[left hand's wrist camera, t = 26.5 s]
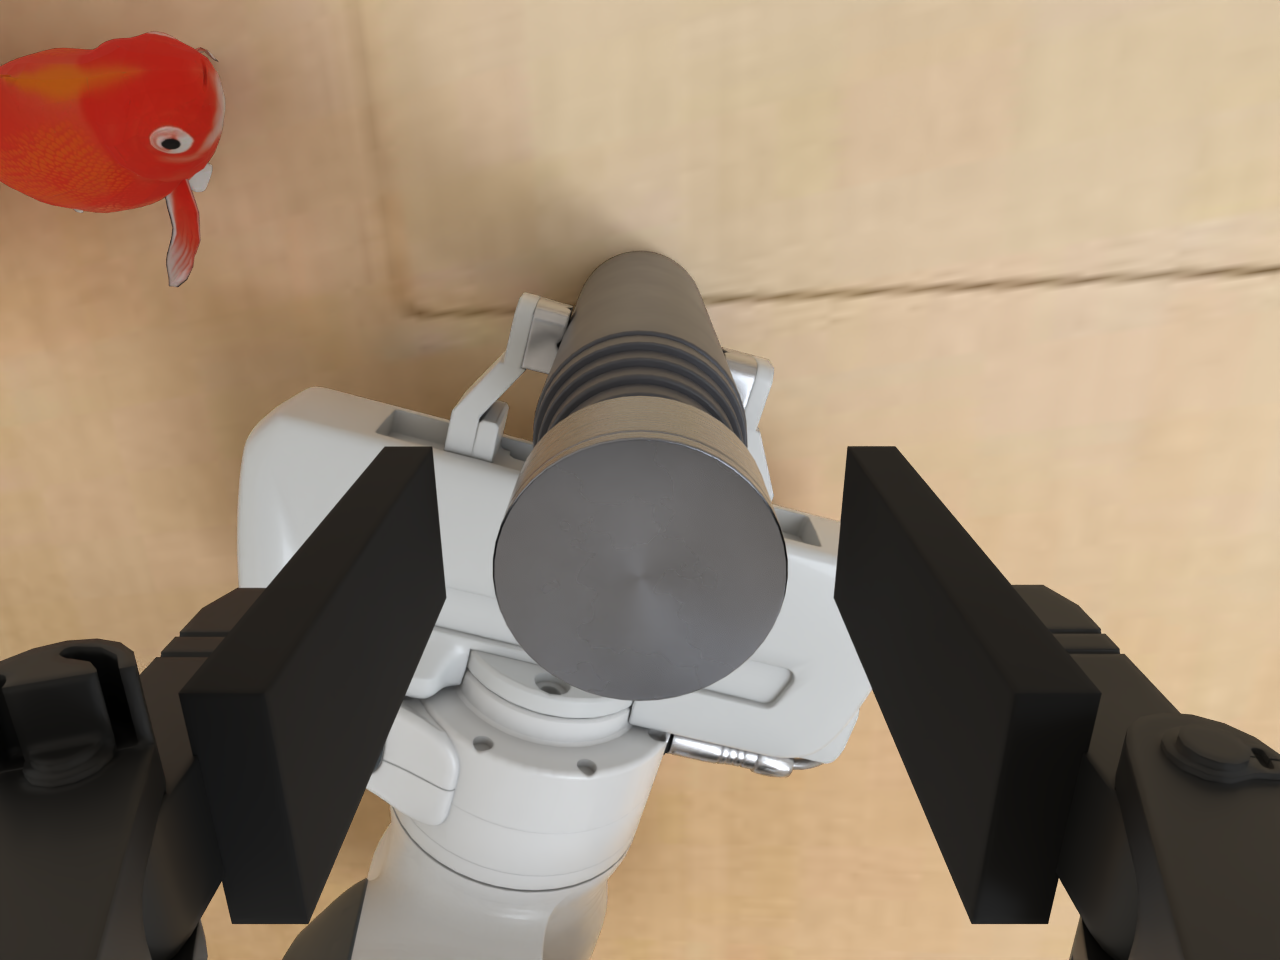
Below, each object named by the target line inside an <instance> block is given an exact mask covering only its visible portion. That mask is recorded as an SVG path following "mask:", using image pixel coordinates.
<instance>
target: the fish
mask: <svg viewBox="0 0 1280 960" xmlns="http://www.w3.org/2000/svg"><path fill="white" fill-rule="evenodd" d="M202 52H205V53H207V54H208V55H209V56H210V57H211V58H213V59H214V60H215V61H217V59H216V58H215V57H214V56H213V55H212V54H211V53H210V52H209V51H208V50H205V49H203V48H201V47H200V48H197V49H194V48H192V47H190V46H188V45H186V44H184V43H182V42H181V41H179V40H177V39H175V38H174V37H172V36H170V35H168V34H166V33H162V32H148V33H145V34H142V35H139V36H136V37H131V38H119V39H112V40H109V41H106V42H104V43H103V44H101V45H100V46H99V47H98V48H96V49H93V50H86V49H74V48H54V49H50V50H45V51H41V52H38V53H34V54H31V55H27V56H24V57H21V58H18V59H15V60H13V61H10V62H8V63H6V64H4V65H2V66H1V67H0V181H1V182H3V183H4V184H6V185H7V186H9V187H11V188H13V189H15V190H17V191H20V192H22V193H24V194H26V195H28V196H30V197H32V198H34V199H36V200H38V201H41V202H44V203H47V204H51V205H55V206H60V207H66V208H71V209H74V210H75V211H76V212H80V213H83V211H89V212H98V213H109V212H116V211H122V210H128V209H134V208H138V207H143V206H146V205H150V204H153V203H155V202H157V201H159V200H161V199H163V198H164V197H165V199H166V203H167V208H168V212H169V215H170V218H171V223H172V227H173V229H172V237H171V241H170V245H169V249H168V252H167V259H166V266H167V272H168V277H169V286H173V287H179V286H180V285H181V284H182V283H184V282H185V281H186V280H187V279H188V277H189V275H190V272H191V270H192V268H193V264H194V256H195V254H196V252H197V249H198V246H199V244H200V223H199V211H198V208H197V205H196V202H195V199H194V196H193V193H192V190H193V191H195V192H203V191H204V190H205V189H206V187H207V185H208V183H209V180H210V177H211V173H212V165H211V164H209V163H208V162H209V160H210V159H211V157H212V156H213V154H214V153H215V151H216V148H217V145H218V142H219V140H220V137H221V133H222V129H223V123H224V114H225V95H224V92H223V88H222V84H221V80H220V77H219V75H218V73H217V71H216V70H215V68H214V67H213V65H212V64H211V62H210V61H209V59H208V58H207V57H205V56H204V55H202V54H201V53H202ZM191 189H192V190H191Z"/></svg>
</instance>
